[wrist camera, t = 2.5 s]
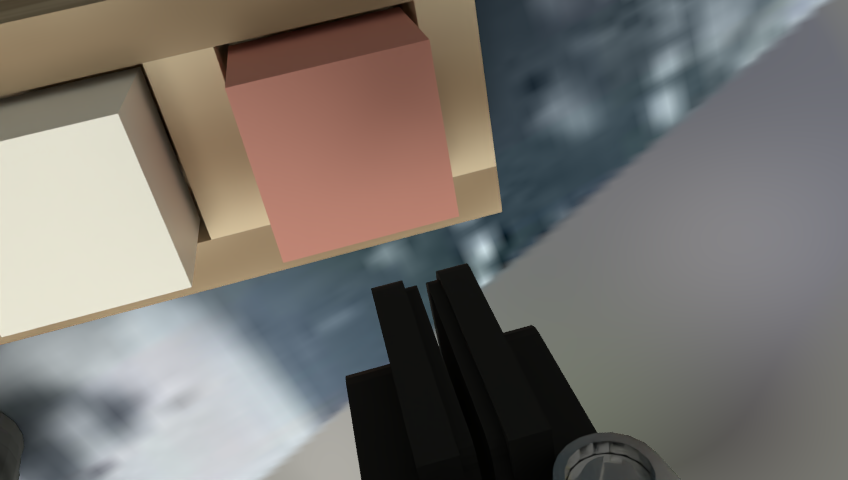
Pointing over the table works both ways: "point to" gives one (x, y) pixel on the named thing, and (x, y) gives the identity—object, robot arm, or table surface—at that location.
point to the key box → (212, 114)
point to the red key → (343, 131)
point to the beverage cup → (10, 448)
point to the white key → (89, 202)
